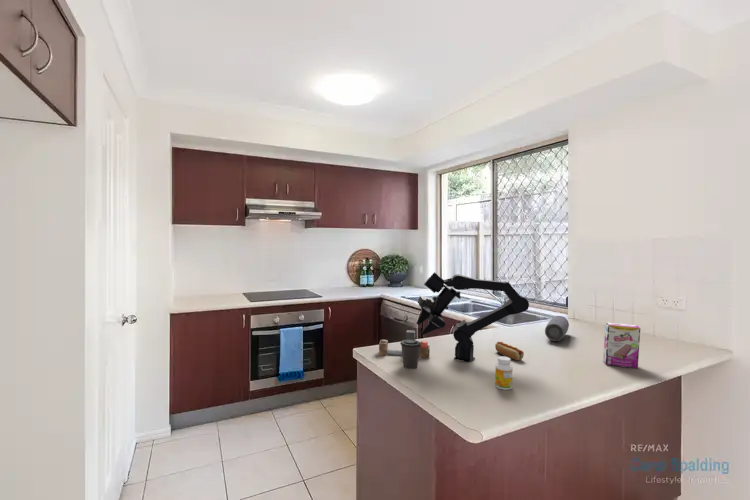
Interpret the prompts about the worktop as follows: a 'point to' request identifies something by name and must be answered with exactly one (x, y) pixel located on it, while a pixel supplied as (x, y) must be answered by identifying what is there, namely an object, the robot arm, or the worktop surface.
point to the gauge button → (424, 344)
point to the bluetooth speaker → (557, 328)
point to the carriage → (410, 334)
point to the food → (509, 351)
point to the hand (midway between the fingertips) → (419, 329)
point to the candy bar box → (621, 345)
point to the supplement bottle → (503, 373)
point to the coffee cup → (410, 353)
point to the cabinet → (424, 352)
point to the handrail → (394, 352)
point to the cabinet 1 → (383, 347)
